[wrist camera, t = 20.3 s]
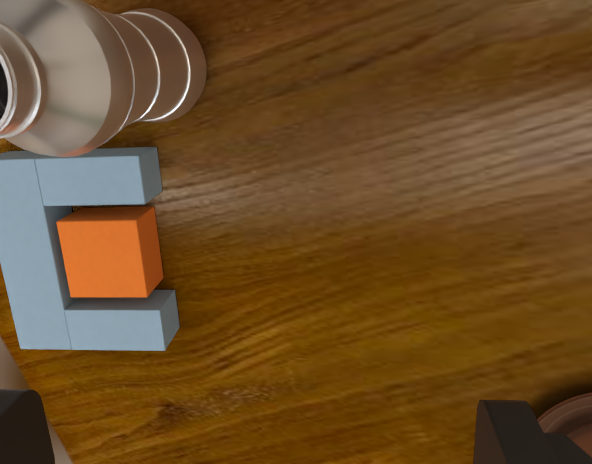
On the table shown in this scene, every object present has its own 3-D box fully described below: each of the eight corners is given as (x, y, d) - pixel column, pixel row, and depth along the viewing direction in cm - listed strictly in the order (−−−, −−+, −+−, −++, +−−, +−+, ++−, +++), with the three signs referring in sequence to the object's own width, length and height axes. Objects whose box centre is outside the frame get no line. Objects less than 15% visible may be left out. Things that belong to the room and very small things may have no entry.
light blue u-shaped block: (8, 151, 38) (-24, 160, 35) (157, 146, 37) (138, 155, 34) (45, 326, 43) (19, 349, 39) (180, 327, 42) (165, 351, 38)
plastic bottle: (187, -6, 34) (-19, -83, 15) (231, 96, 36) (97, 142, 17) (100, 36, 35) (-189, 15, 16) (148, 132, 37) (-65, 215, 18)
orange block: (80, 207, 39) (55, 221, 36) (154, 205, 39) (136, 220, 35) (92, 278, 41) (70, 297, 38) (164, 277, 40) (147, 297, 37)
